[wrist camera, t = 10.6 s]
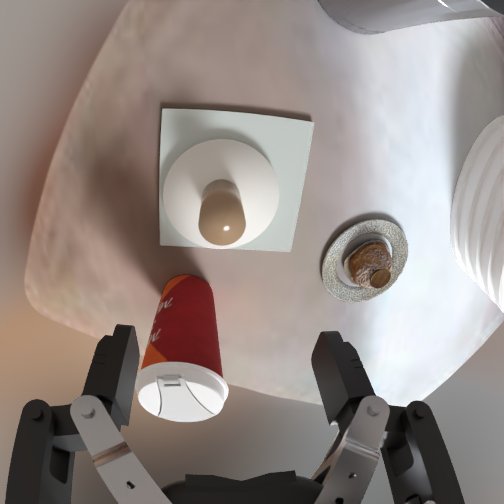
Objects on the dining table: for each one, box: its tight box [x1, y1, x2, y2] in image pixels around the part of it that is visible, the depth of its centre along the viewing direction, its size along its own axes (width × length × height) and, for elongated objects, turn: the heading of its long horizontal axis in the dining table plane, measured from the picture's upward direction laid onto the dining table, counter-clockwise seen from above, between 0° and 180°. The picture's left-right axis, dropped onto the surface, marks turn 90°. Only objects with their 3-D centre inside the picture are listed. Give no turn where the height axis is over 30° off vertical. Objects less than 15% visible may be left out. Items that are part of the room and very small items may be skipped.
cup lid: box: [163, 138, 279, 249], centre depth 26 cm, size 11×11×7 cm
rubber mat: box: [159, 108, 314, 252], centre depth 29 cm, size 14×14×1 cm
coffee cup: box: [135, 275, 228, 422], centre depth 29 cm, size 8×8×15 cm
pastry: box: [322, 219, 408, 303], centre depth 34 cm, size 12×12×5 cm
